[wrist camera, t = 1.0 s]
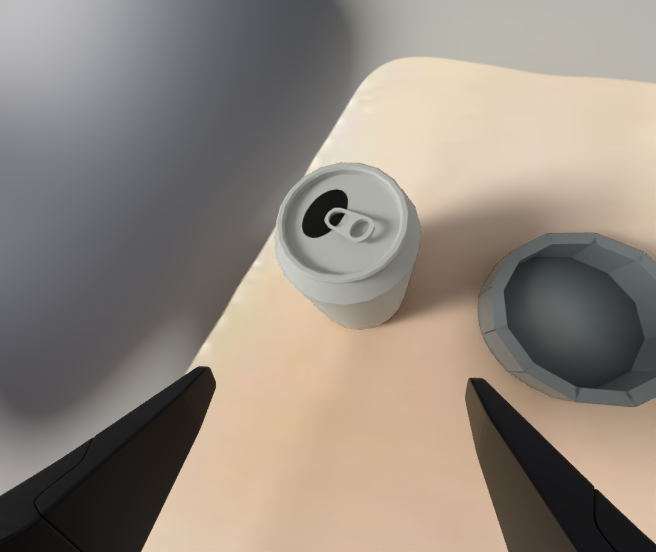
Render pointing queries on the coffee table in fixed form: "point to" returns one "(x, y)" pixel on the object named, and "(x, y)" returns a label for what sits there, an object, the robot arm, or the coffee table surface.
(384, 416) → the coffee table surface
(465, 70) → the coffee table surface
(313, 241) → the can
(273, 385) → the coffee table surface
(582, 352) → the ring holder
